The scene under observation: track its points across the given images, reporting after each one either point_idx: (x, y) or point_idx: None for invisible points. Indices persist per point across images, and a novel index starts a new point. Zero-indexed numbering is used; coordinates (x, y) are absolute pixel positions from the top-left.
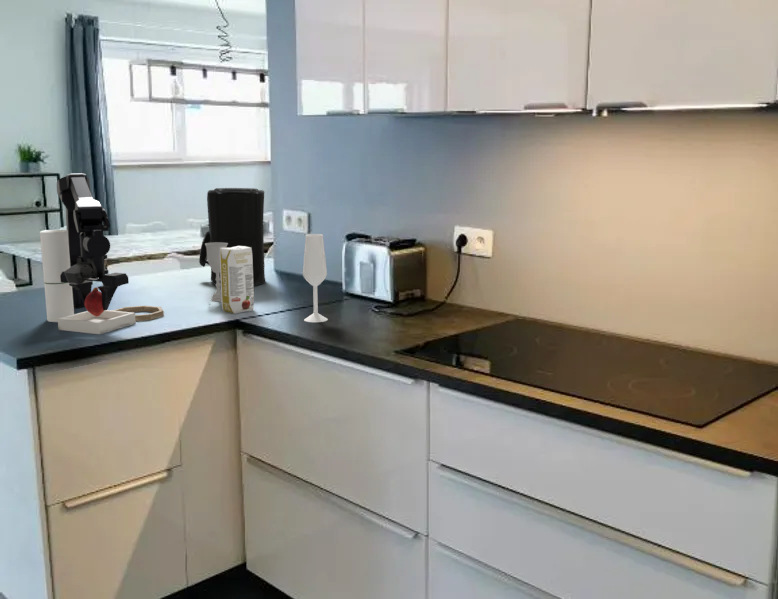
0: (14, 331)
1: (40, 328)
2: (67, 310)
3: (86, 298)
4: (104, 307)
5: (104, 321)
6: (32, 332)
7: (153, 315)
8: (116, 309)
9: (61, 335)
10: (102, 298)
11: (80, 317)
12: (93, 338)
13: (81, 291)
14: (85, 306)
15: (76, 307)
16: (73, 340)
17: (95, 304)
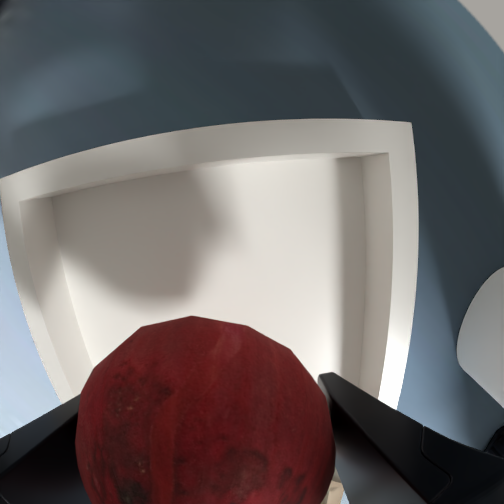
0: (489, 55)
1: (468, 132)
2: (495, 347)
3: (240, 422)
4: (79, 395)
5: (7, 237)
6: (428, 47)
7: None
8: (339, 498)
9: (225, 37)
10: (30, 445)
11: (375, 327)
12: (20, 106)
13: (425, 497)
14: (253, 334)
15: (500, 429)
16: (77, 23)
17: (94, 371)
